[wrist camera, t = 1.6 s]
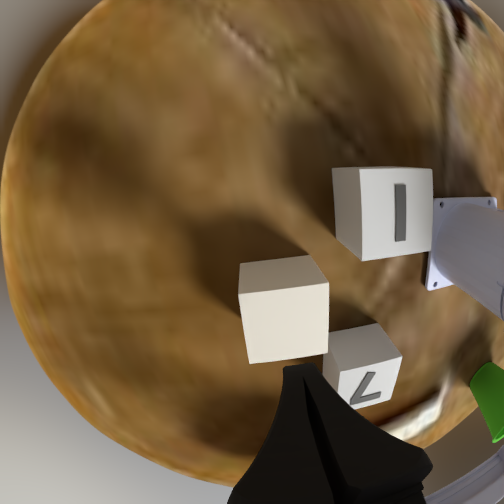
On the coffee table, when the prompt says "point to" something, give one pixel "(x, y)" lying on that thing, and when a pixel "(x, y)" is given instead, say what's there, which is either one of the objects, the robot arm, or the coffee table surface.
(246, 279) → the cream block
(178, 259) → the coffee table surface
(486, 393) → the cup
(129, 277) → the coffee table surface
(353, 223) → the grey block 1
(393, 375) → the white marked cube 7
